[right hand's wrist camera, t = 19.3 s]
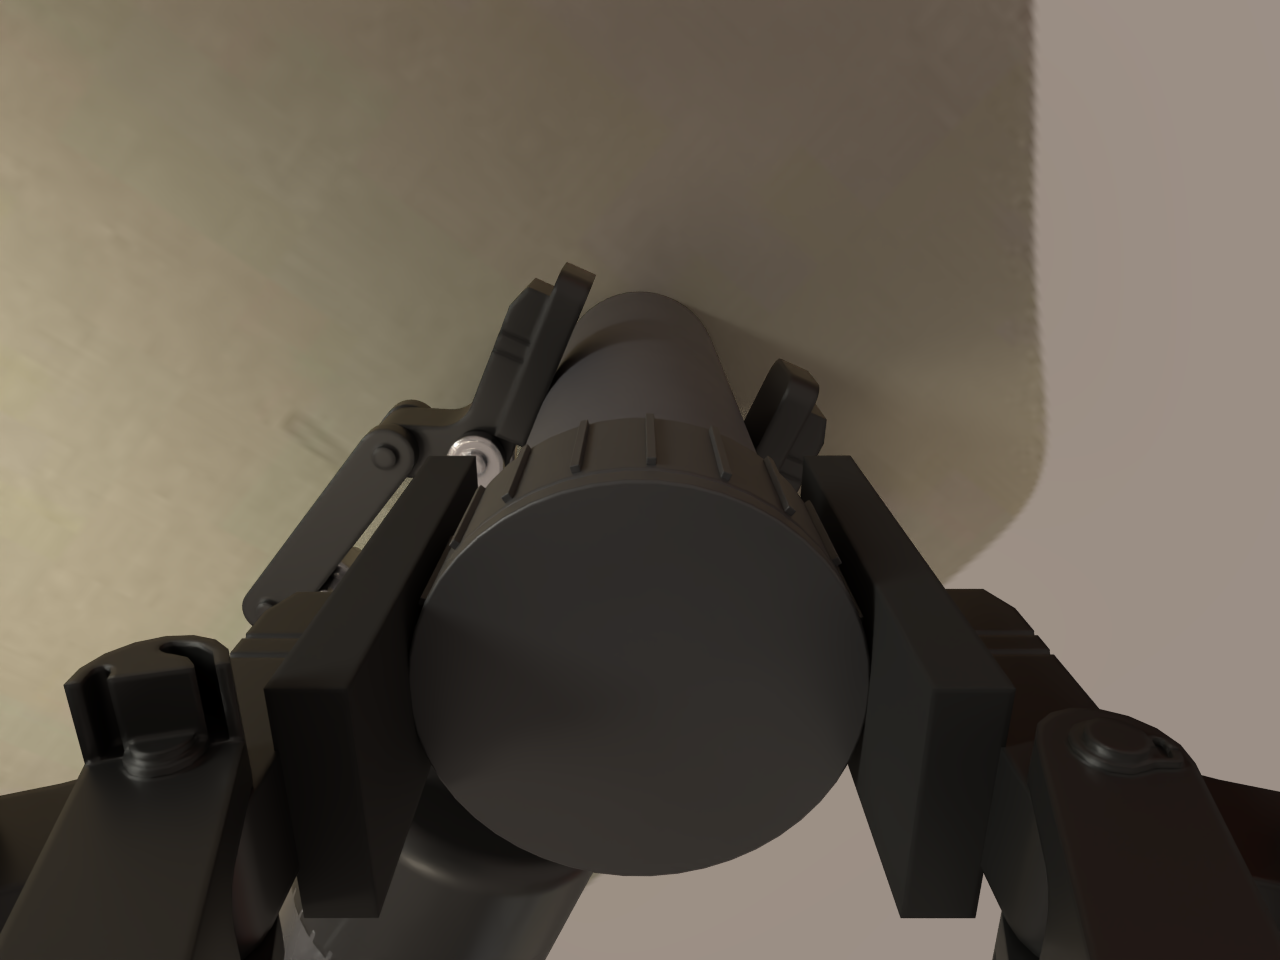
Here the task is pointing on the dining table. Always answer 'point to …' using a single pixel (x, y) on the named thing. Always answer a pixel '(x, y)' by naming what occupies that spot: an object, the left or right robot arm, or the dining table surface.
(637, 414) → the dark grey cylinder
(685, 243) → the dining table surface
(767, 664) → the lid
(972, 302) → the dining table surface
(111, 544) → the dining table surface
